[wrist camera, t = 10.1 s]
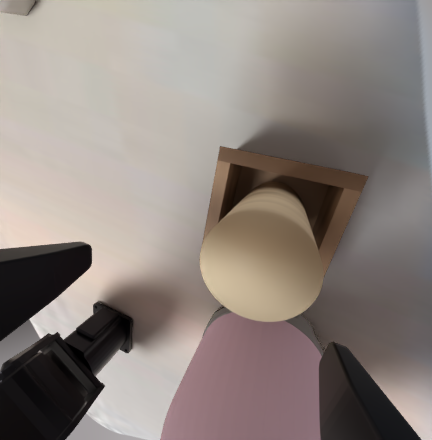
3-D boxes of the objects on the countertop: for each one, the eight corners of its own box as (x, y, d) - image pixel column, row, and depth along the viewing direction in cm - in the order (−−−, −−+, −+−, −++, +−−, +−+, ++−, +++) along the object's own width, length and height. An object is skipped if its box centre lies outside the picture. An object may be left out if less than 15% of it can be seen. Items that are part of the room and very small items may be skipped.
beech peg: (292, 245, 18) (298, 339, 9) (237, 229, 19) (192, 296, 10) (312, 190, 16) (346, 235, 7) (250, 175, 17) (210, 197, 8)
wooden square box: (307, 268, 18) (313, 300, 14) (217, 239, 21) (199, 260, 16) (346, 171, 15) (368, 176, 11) (236, 149, 18) (220, 146, 13)
